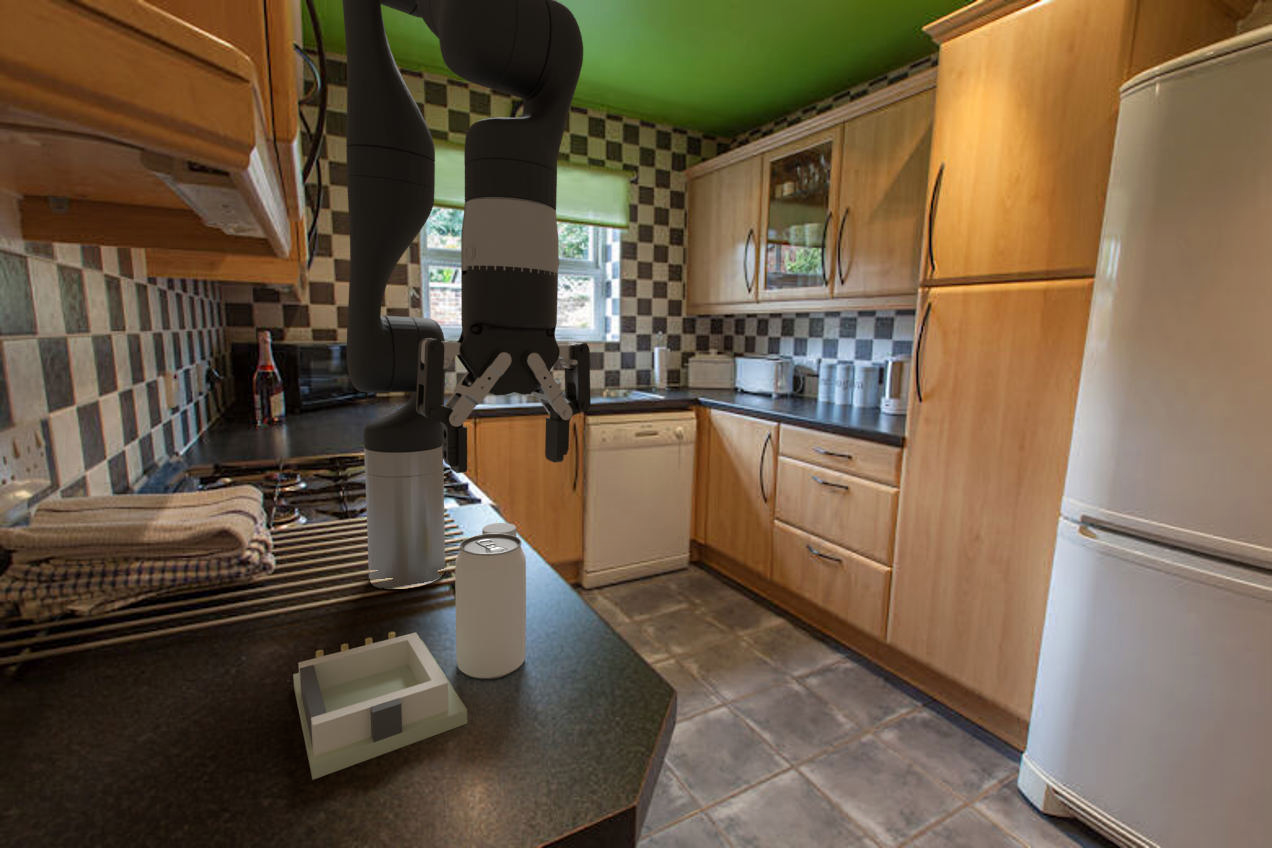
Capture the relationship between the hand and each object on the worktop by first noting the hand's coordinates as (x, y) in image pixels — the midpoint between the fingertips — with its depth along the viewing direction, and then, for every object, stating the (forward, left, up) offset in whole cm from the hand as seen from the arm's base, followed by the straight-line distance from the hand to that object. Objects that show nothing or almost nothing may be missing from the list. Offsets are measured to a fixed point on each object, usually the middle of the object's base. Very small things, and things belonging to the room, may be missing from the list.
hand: (508, 465), depth 48 cm
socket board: (-4, -10, -20) cm, 23 cm away
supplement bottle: (-19, +7, -21) cm, 29 cm away
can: (-5, 0, -21) cm, 21 cm away
